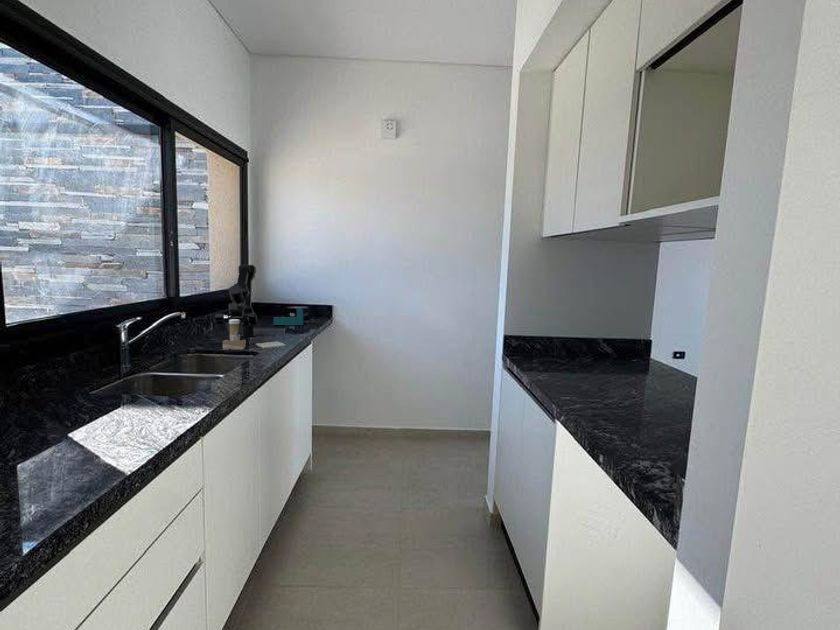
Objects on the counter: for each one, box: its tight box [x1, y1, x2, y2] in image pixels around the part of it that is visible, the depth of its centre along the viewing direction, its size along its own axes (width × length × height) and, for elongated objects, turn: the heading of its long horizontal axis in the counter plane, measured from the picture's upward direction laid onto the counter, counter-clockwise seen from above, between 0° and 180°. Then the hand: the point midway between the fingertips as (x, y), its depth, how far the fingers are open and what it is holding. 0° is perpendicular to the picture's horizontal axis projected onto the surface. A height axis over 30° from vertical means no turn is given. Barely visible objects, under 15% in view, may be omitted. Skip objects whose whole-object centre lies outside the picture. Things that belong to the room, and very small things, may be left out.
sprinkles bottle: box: [229, 319, 241, 341], centre depth 217 cm, size 5×5×13 cm
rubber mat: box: [255, 341, 287, 349], centre depth 224 cm, size 11×11×1 cm
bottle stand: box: [222, 339, 247, 351], centre depth 216 cm, size 6×9×4 cm, turn 101°
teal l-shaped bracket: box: [273, 308, 304, 326], centre depth 296 cm, size 18×11×10 cm, turn 106°
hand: (234, 333), depth 215 cm, fingers closed on sprinkles bottle, 4 cm apart
